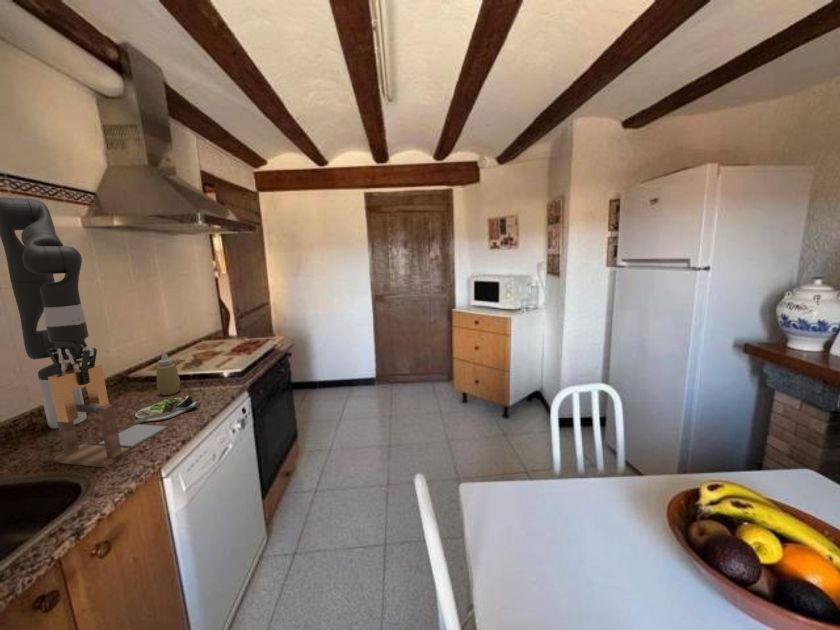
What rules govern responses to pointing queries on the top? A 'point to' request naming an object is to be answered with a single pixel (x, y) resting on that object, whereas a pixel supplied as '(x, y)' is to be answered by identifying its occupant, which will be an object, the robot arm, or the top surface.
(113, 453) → the stand
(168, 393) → the squeeze bottle
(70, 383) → the link
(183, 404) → the salad plate
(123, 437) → the mat
